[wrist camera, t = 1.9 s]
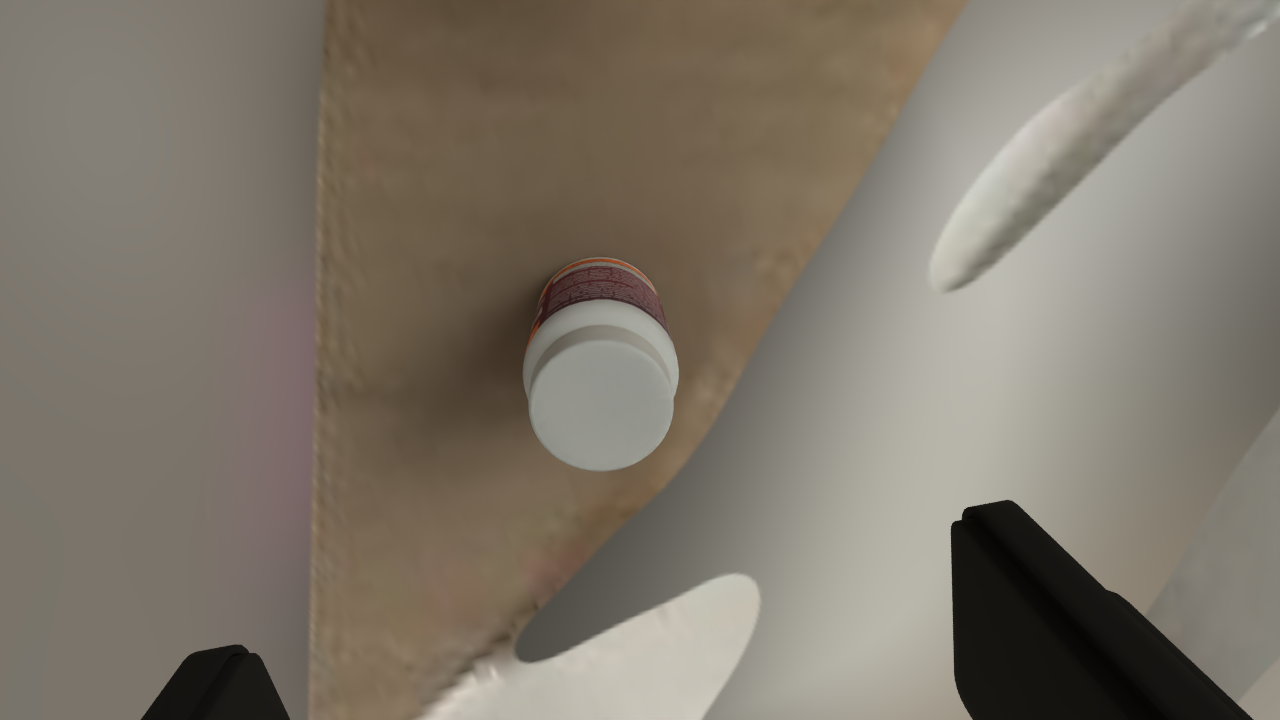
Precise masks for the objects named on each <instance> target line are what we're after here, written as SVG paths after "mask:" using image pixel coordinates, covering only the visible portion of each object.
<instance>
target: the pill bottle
mask: <svg viewBox="0 0 1280 720" xmlns="http://www.w3.org/2000/svg"><path fill="white" fill-rule="evenodd" d="M678 381H679V368H678V361H677V356H676V353H675V349H674V346H673V342H672V339H671V336H670V333H669V330H668V326H667V323H666V319H665V316H664V313H663V309H662V306H661V302H660V299H659V296H658V294H657V292H656V290H655V288H654V287H653V285H652V283H651V282H650V281H649V279H648V278H647V277H646V276H645V275H644V274H643V273H642V272H640V271H639V270H638V269H637V268H635V267H634V266H632V265H630V264H628V263H626V262H624V261H621V260H618V259H614V258H608V257H591V258H586V259H581V260H578V261H575V262H573V263H571V264H569V265H567V266H565V267H564V268H563V269H561V270H560V271H559V272H557V273H556V274H555V275H554V276H553V277H552V278H551V280H550V281H549V282H548V284H547V285H546V287H545V289H544V290H543V292H542V295H541V297H540V300H539V303H538V306H537V310H536V314H535V318H534V321H533V325H532V329H531V334H530V337H529V341H528V345H527V349H526V353H525V358H524V364H523V382H524V388H525V392H526V395H527V398H528V400H529V401H528V411H529V418H530V422H531V425H532V427H533V430H534V432H535V434H536V436H537V438H538V439H539V441H540V442H541V444H542V445H543V446H544V447H545V448H546V449H547V450H548V451H549V452H550V453H551V454H552V455H553V456H555V457H556V458H557V459H559V460H561V461H562V462H564V463H566V464H568V465H571V466H573V467H576V468H580V469H584V470H589V471H611V470H617V469H621V468H625V467H628V466H631V465H633V464H635V463H637V462H639V461H640V460H642V459H643V458H645V457H646V456H647V455H649V454H650V453H651V452H652V451H654V450H655V449H656V447H657V446H658V445H659V444H660V443H661V441H662V440H663V439H664V437H665V435H666V434H667V431H668V429H669V427H670V424H671V420H672V416H673V409H674V400H673V398H674V396H675V394H676V390H677V386H678Z"/></svg>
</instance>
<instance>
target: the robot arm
mask: <svg viewBox="0 0 1280 720" xmlns="http://www.w3.org/2000/svg"><path fill="white" fill-rule="evenodd" d="M951 554H952V555H951V558H952V598H953V599H952V600H953V640H954V676H955V682H956V686H957V690H958V693H959V695H960V698H961V700H962V702H963V704H964V706H965V708H966V709H967V711H968V713H969V714H970V716H971V717H972V719H973V720H1253V719H1252V718H1251V717H1250V716H1249V715H1248V714H1247V713H1246V712H1245V711H1244V710H1243V709H1241V708H1240V707H1239V706H1238V705H1237V704H1236V703H1235V702H1234V701H1233V700H1232V699H1231V698H1230V697H1229V696H1228V695H1227V694H1226V693H1225V692H1224V691H1222V690H1221V689H1220V688H1219V687H1218V686H1217V685H1216V684H1215V683H1214V682H1213V681H1212V680H1211V679H1210V678H1209V677H1208V676H1207V675H1205V674H1204V673H1203V672H1202V671H1201V670H1200V669H1199V668H1198V667H1197V666H1196V665H1195V664H1194V663H1193V662H1192V661H1191V660H1190V659H1189V658H1187V657H1186V656H1185V655H1184V654H1183V653H1182V652H1181V651H1180V650H1179V649H1178V648H1177V647H1176V646H1175V645H1174V644H1173V643H1172V642H1170V641H1169V640H1168V639H1167V638H1166V637H1165V636H1164V635H1163V634H1162V633H1161V632H1160V631H1159V630H1158V629H1157V628H1156V627H1155V626H1154V625H1152V624H1151V623H1150V622H1149V621H1148V620H1147V619H1146V618H1145V617H1144V616H1143V615H1142V614H1141V613H1140V612H1139V611H1138V610H1137V609H1135V608H1134V607H1133V606H1132V605H1131V604H1130V603H1129V602H1128V601H1127V600H1125V599H1124V598H1123V597H1121V596H1120V595H1118V594H1117V593H1114V592H1111V591H1108V590H1106V589H1105V588H1104V587H1103V586H1102V585H1101V584H1100V583H1099V582H1098V581H1097V580H1096V579H1095V578H1094V577H1092V576H1091V575H1090V574H1089V573H1088V572H1087V571H1086V570H1085V569H1084V568H1083V567H1082V566H1081V565H1080V564H1079V563H1078V562H1077V561H1076V560H1075V559H1074V558H1073V557H1072V556H1071V555H1070V554H1069V553H1067V552H1066V551H1065V550H1064V549H1063V548H1062V547H1061V546H1060V545H1059V544H1058V543H1057V542H1056V541H1055V540H1054V539H1053V538H1052V537H1051V536H1050V535H1048V533H1047V532H1046V531H1044V530H1043V529H1042V528H1041V527H1040V526H1039V525H1038V524H1037V523H1036V522H1035V521H1034V520H1033V519H1032V518H1031V517H1030V516H1029V515H1028V514H1027V513H1026V512H1024V510H1023V509H1022V508H1021V507H1019V506H1018V505H1017V504H1016V503H1014V502H1013V501H1010V500H1005V501H999V502H994V503H989V504H983V505H978V506H972V507H968V508H966V509H964V512H963V514H962V520H959V521H955V522H953V523H952V526H951ZM141 720H290V718H289V716H288V714H287V712H286V710H285V708H284V706H283V703H282V701H281V699H280V697H279V695H278V693H277V691H276V689H275V687H274V684H273V682H272V680H271V678H270V676H269V674H268V672H267V669H266V667H265V665H264V663H263V661H262V659H261V658H260V656H259V655H257V654H256V653H249V651H248V650H247V649H246V648H245V647H243V646H242V645H230V646H225V647H219V648H214V649H209V650H203V651H198V652H195V653H193V654H191V655H189V656H188V657H187V658H186V659H185V660H184V661H183V662H182V664H181V665H180V666H179V668H178V669H177V671H176V672H175V673H174V675H173V676H172V677H171V679H170V680H169V682H168V683H167V684H166V686H165V687H164V689H163V690H162V691H161V693H160V694H159V696H158V697H157V698H156V700H155V701H154V702H153V704H152V705H151V706H150V708H149V709H148V711H147V712H146V713H145V715H144V716H143V718H142V719H141Z"/></svg>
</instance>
